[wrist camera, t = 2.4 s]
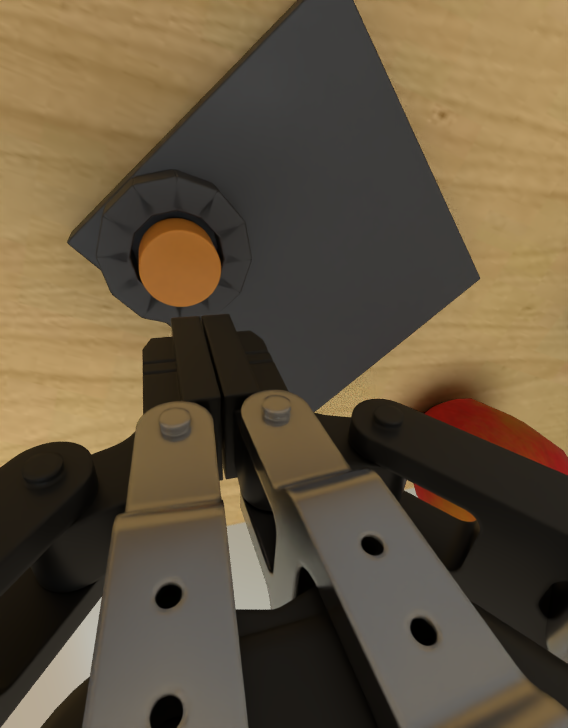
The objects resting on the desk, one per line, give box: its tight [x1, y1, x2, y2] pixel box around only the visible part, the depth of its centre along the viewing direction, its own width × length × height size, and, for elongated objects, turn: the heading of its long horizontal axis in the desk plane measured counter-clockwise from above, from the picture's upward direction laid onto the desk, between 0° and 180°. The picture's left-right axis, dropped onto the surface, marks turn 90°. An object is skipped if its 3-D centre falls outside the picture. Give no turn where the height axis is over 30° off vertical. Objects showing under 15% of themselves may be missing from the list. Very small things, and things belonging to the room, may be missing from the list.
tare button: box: [139, 218, 221, 307], centre depth 16 cm, size 3×3×2 cm
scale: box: [67, 0, 480, 412], centre depth 20 cm, size 16×14×3 cm
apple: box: [414, 398, 568, 522], centre depth 27 cm, size 9×9×12 cm
